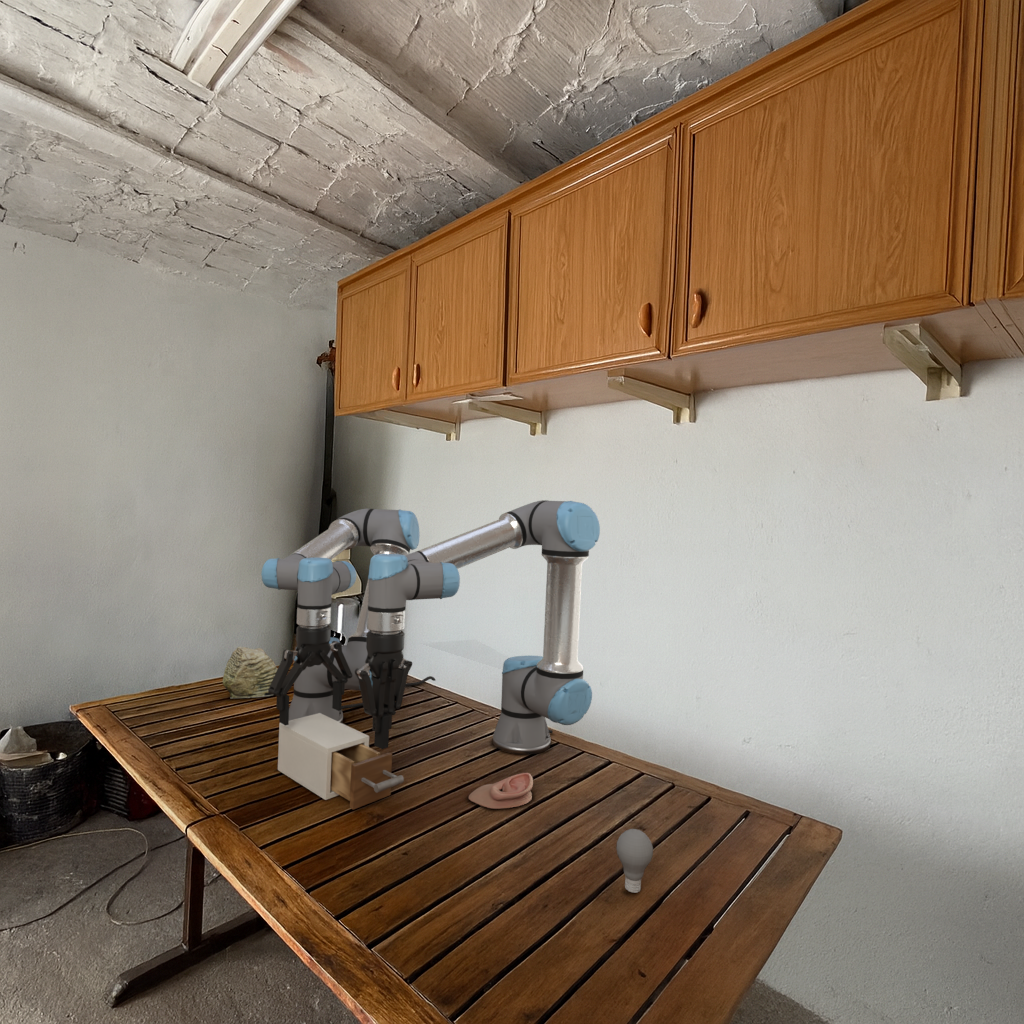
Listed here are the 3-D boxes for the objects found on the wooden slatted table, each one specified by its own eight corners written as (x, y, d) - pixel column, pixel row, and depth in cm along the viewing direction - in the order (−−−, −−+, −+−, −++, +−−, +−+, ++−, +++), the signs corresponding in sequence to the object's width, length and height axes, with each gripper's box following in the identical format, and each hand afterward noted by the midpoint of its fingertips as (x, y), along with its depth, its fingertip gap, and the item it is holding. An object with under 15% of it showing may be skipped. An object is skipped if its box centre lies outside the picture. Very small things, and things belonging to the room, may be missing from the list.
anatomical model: (464, 786, 132) (478, 764, 144) (464, 804, 133) (478, 781, 144) (527, 794, 130) (536, 771, 141) (526, 813, 130) (535, 789, 141)
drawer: (408, 805, 130) (410, 762, 130) (371, 820, 123) (372, 776, 123) (340, 767, 146) (342, 729, 146) (304, 779, 139) (305, 739, 139)
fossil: (218, 695, 195) (220, 647, 195) (278, 685, 208) (279, 640, 207) (228, 703, 189) (230, 653, 188) (289, 692, 201) (290, 645, 201)
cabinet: (367, 784, 140) (369, 736, 140) (325, 800, 132) (327, 748, 132) (318, 757, 153) (320, 712, 153) (277, 770, 146) (279, 723, 145)
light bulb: (610, 879, 108) (613, 822, 108) (644, 879, 109) (647, 822, 109) (619, 902, 102) (622, 840, 102) (655, 901, 103) (658, 840, 103)
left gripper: (270, 636, 134) (267, 734, 135) (368, 621, 153) (365, 707, 154) (253, 629, 139) (251, 725, 140) (350, 615, 158) (348, 699, 159)
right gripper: (370, 638, 121) (365, 761, 121) (422, 629, 130) (418, 743, 131) (347, 631, 126) (342, 749, 126) (399, 624, 135) (395, 733, 136)
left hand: (311, 716), depth 147 cm, fingers open, 13 cm apart
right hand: (381, 746), depth 129 cm, fingers closed
